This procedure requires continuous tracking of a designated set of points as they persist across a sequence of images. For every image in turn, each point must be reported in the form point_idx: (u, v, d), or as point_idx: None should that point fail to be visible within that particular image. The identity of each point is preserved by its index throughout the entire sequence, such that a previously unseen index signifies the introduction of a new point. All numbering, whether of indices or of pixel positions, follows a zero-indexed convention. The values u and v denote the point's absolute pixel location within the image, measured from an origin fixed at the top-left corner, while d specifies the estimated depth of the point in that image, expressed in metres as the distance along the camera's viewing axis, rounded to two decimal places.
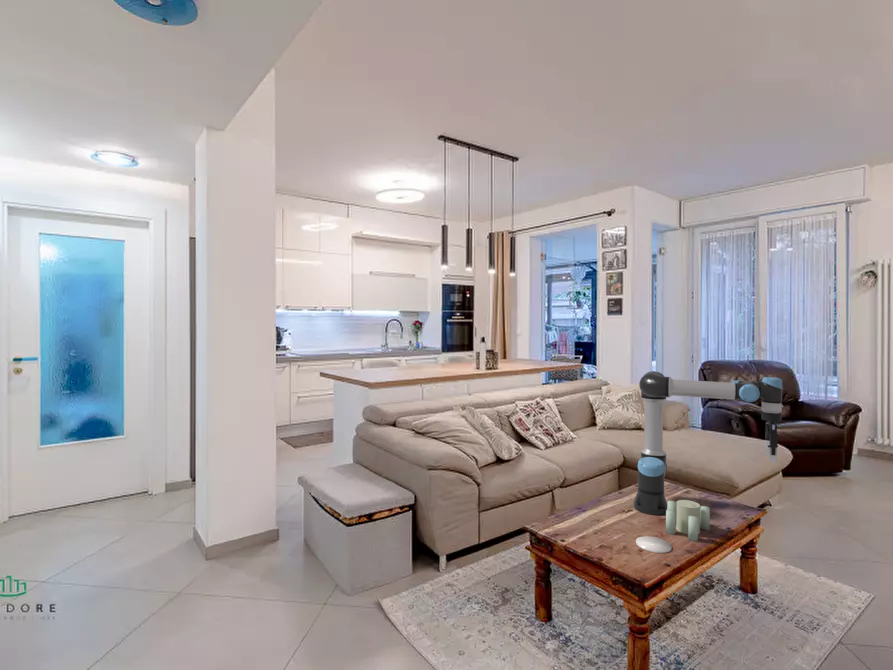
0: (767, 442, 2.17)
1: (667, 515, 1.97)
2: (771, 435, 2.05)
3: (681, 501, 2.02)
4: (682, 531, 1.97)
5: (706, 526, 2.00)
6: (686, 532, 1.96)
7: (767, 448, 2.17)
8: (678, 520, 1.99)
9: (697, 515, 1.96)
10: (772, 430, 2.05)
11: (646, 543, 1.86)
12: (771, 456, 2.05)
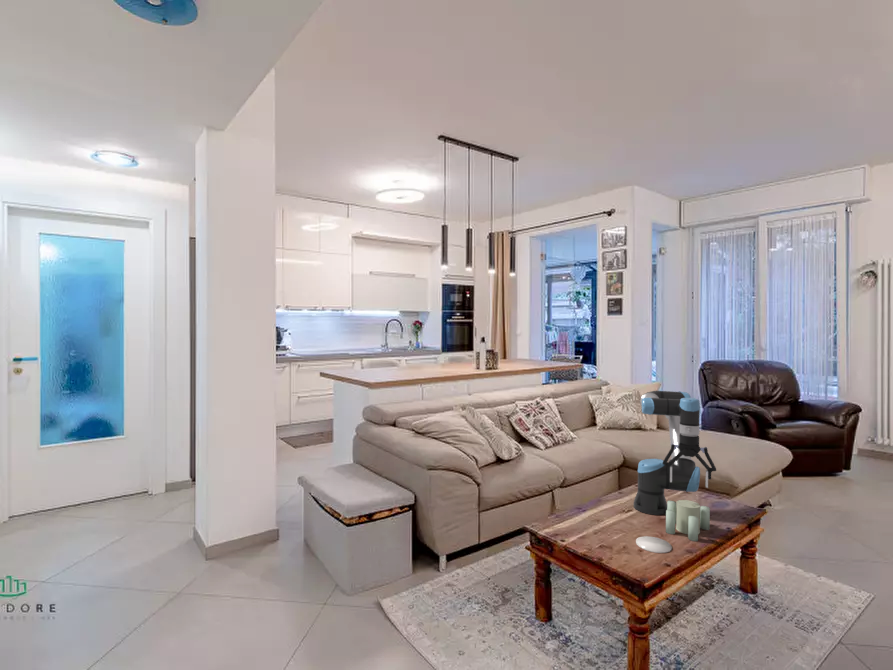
0: (706, 472, 1.97)
1: (667, 515, 1.97)
2: (668, 453, 2.04)
3: (681, 501, 2.02)
4: (682, 531, 1.97)
5: (706, 526, 2.00)
6: (686, 532, 1.96)
7: None
8: (678, 520, 1.99)
9: (697, 515, 1.96)
10: (670, 449, 2.03)
11: (646, 543, 1.86)
12: None
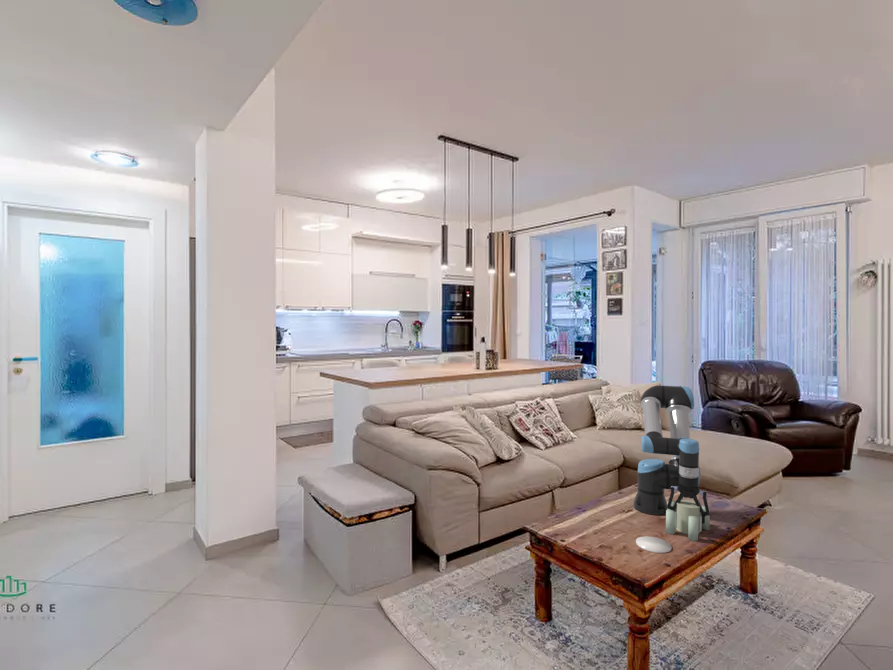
0: None
1: (667, 515, 1.97)
2: None
3: (681, 501, 2.02)
4: (682, 531, 1.97)
5: (706, 526, 2.00)
6: (686, 532, 1.96)
7: None
8: (678, 520, 1.99)
9: (697, 515, 1.96)
10: (671, 491, 2.03)
11: (646, 543, 1.86)
12: None
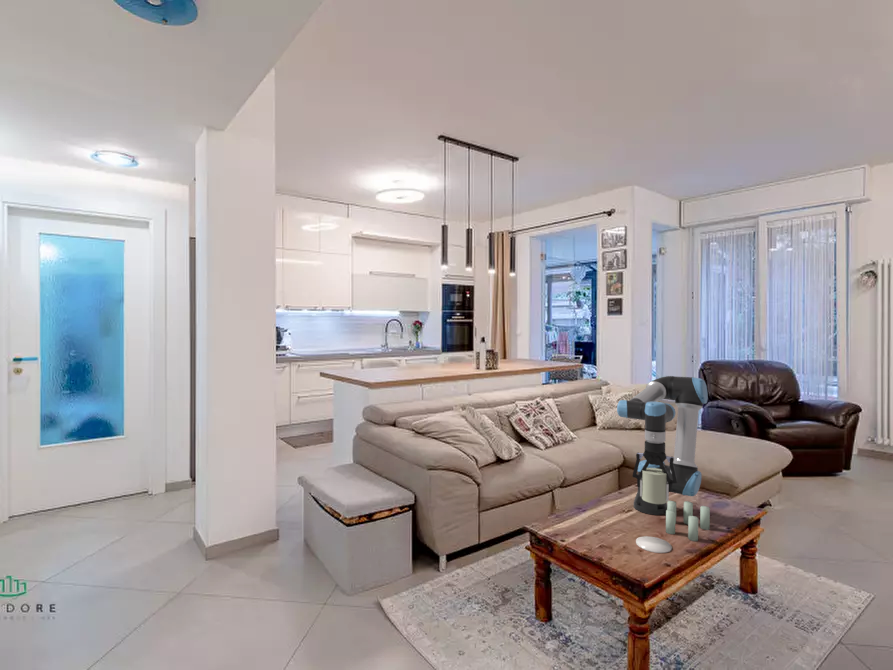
0: None
1: (667, 515, 1.97)
2: None
3: (647, 469, 1.88)
4: (648, 500, 1.83)
5: (706, 526, 2.00)
6: (652, 501, 1.82)
7: None
8: (644, 489, 1.85)
9: (663, 483, 1.82)
10: None
11: (646, 543, 1.86)
12: None
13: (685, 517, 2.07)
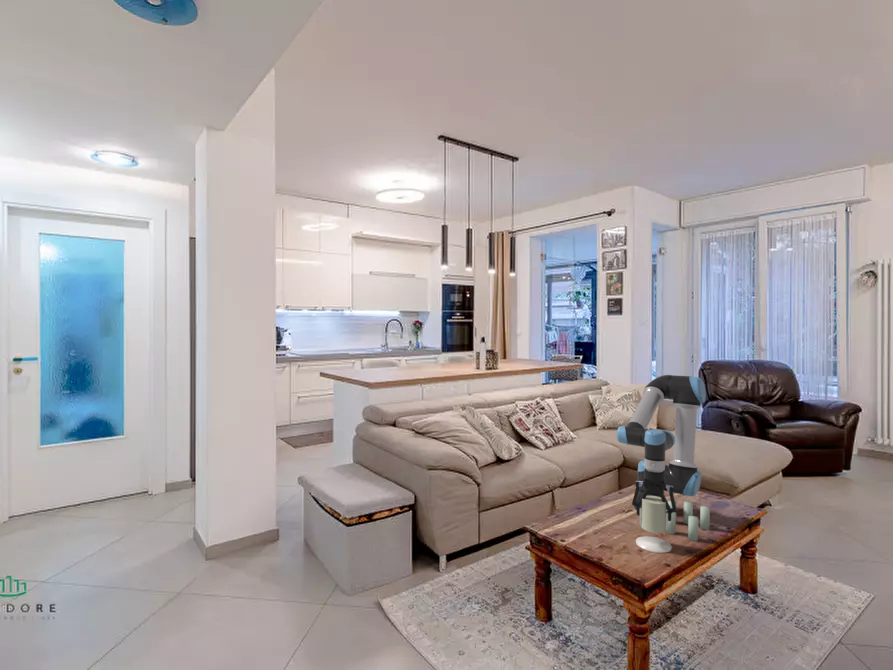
0: (666, 513, 1.84)
1: None
2: None
3: (647, 497, 1.88)
4: (647, 529, 1.83)
5: (706, 526, 2.00)
6: (651, 530, 1.82)
7: None
8: (643, 517, 1.85)
9: (663, 512, 1.82)
10: None
11: (646, 543, 1.86)
12: None
13: (685, 517, 2.07)
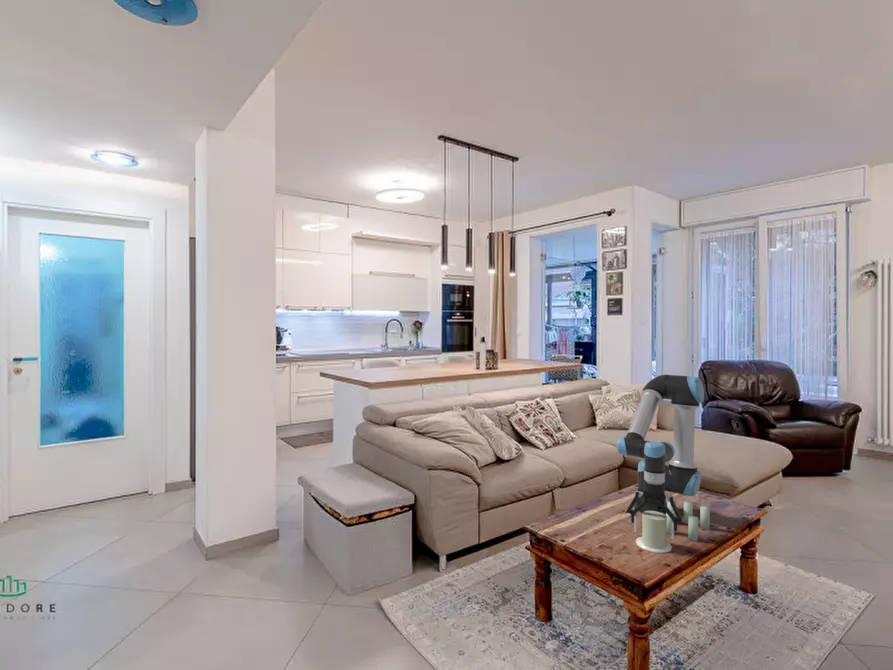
0: None
1: (667, 515, 1.97)
2: (632, 500, 1.90)
3: (647, 512, 1.88)
4: (647, 545, 1.83)
5: (706, 526, 2.00)
6: (651, 546, 1.82)
7: None
8: (643, 533, 1.85)
9: (663, 528, 1.82)
10: (635, 496, 1.89)
11: None
12: None
13: (685, 517, 2.07)
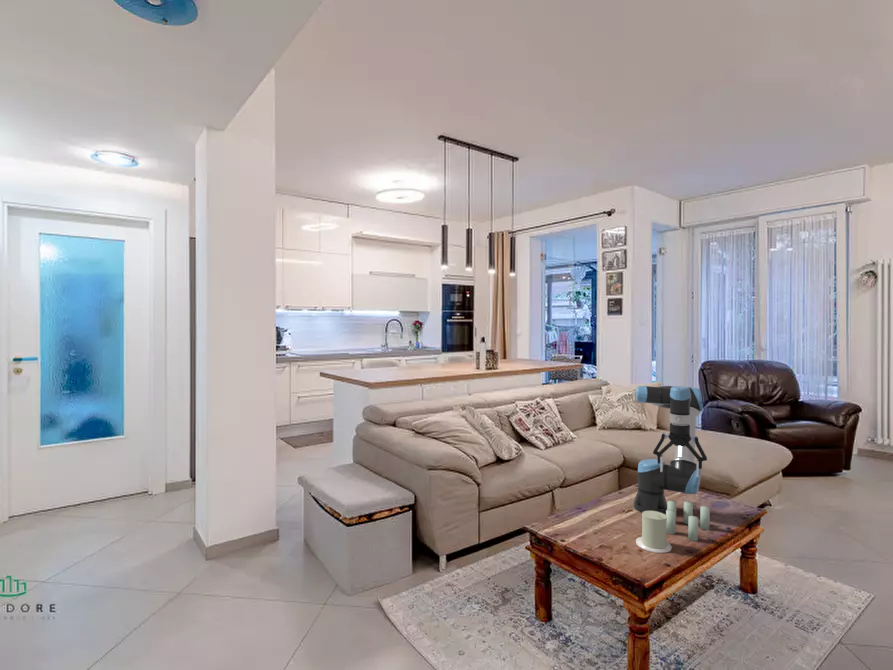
0: None
1: (667, 515, 1.97)
2: None
3: (647, 512, 1.89)
4: (647, 544, 1.83)
5: (706, 526, 2.00)
6: (651, 546, 1.82)
7: None
8: (643, 532, 1.85)
9: (663, 527, 1.82)
10: (661, 438, 2.00)
11: None
12: None
13: (685, 517, 2.07)
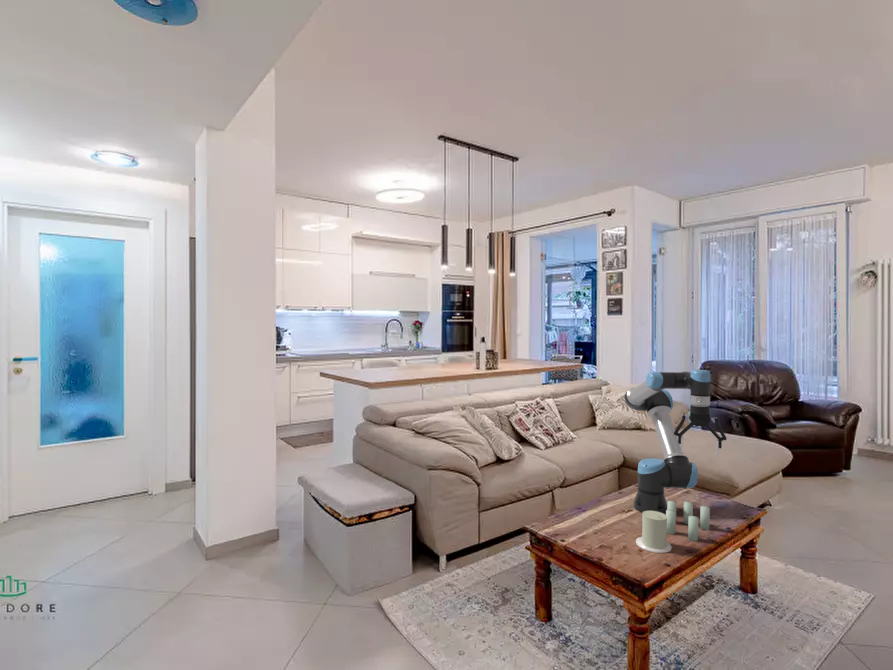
0: (716, 441, 2.02)
1: (667, 515, 1.97)
2: (679, 424, 2.09)
3: (648, 512, 1.88)
4: (647, 544, 1.83)
5: (706, 526, 2.00)
6: (651, 546, 1.82)
7: None
8: (643, 532, 1.85)
9: (663, 528, 1.82)
10: None
11: None
12: None
13: (685, 517, 2.07)
